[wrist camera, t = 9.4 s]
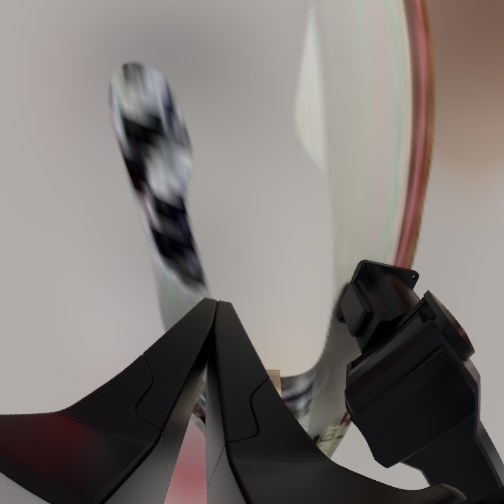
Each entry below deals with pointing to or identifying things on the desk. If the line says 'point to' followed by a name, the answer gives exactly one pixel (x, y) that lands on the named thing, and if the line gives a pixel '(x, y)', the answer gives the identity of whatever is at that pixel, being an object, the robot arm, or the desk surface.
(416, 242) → the desk surface
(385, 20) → the desk surface
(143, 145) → the desk surface
